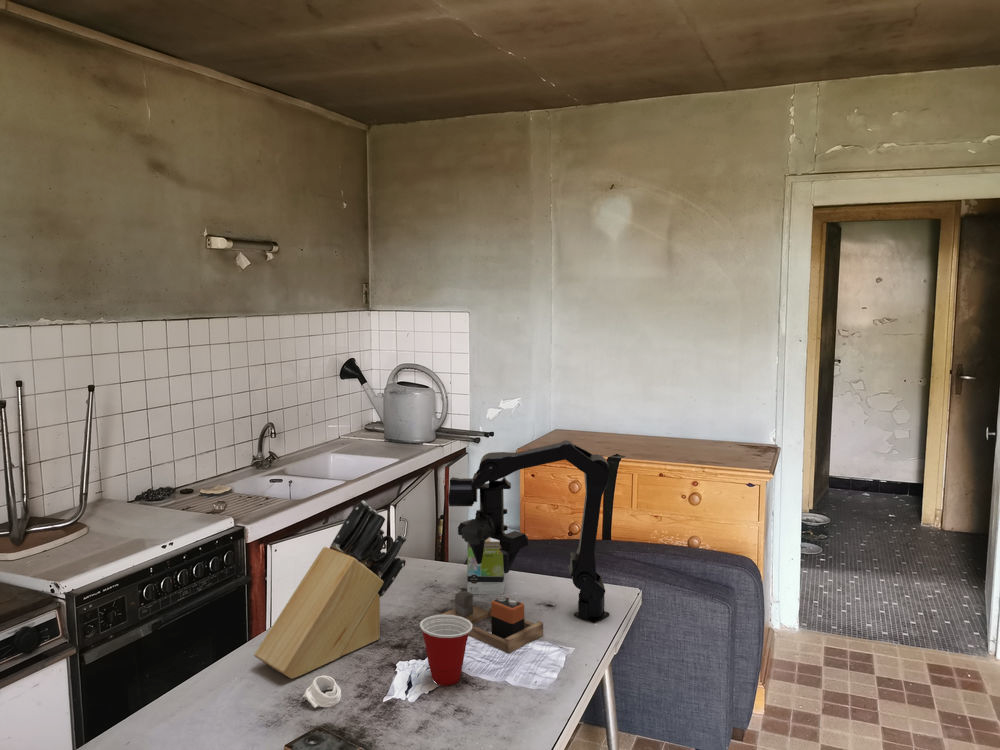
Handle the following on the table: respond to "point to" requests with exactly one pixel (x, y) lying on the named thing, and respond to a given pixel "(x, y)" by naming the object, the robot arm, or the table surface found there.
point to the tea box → (486, 569)
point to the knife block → (335, 598)
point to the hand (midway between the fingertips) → (492, 568)
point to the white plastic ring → (318, 697)
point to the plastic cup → (445, 646)
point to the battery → (506, 617)
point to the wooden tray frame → (477, 614)
